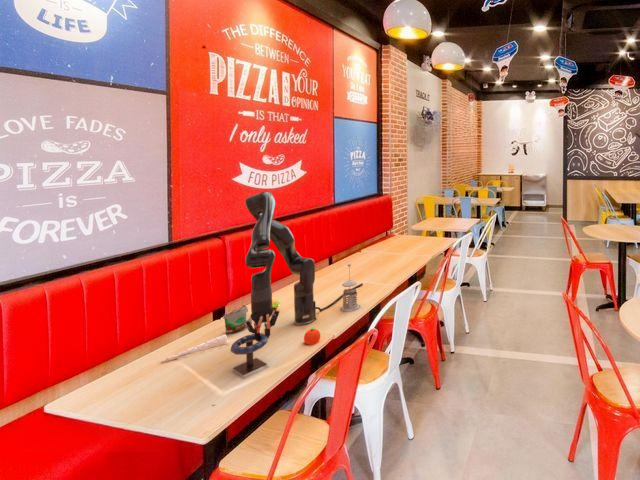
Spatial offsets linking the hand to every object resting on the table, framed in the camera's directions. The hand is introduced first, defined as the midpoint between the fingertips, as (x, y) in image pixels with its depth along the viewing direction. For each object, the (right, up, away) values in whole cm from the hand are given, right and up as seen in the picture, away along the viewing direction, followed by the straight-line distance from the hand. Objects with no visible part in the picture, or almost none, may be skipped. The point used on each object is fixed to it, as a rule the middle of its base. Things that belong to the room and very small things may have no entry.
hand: (262, 339), depth 158 cm
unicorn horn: (-34, -11, +10) cm, 37 cm away
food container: (-30, -11, +32) cm, 45 cm away
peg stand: (-3, -10, -4) cm, 11 cm away
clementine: (+14, -10, +16) cm, 23 cm away
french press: (+17, -10, +57) cm, 60 cm away
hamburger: (-28, -10, +54) cm, 61 cm away
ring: (-3, 0, -4) cm, 5 cm away
